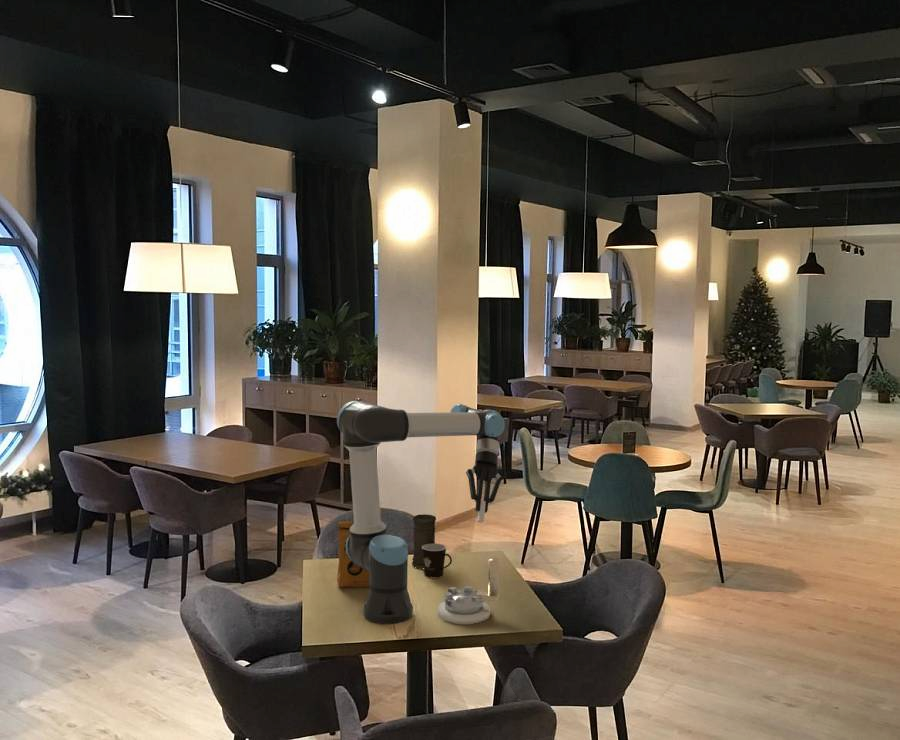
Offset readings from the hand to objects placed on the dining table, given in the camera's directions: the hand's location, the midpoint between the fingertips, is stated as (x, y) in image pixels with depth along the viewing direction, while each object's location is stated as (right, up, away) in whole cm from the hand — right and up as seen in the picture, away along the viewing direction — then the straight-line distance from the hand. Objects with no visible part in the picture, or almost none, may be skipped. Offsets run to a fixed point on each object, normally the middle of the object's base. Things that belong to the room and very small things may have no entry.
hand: (480, 521), depth 267 cm
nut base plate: (-6, -26, -14) cm, 30 cm away
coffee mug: (-15, -23, +21) cm, 35 cm away
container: (-19, -22, +33) cm, 44 cm away
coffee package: (-42, -24, +12) cm, 50 cm away
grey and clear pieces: (-3, -24, -14) cm, 28 cm away
